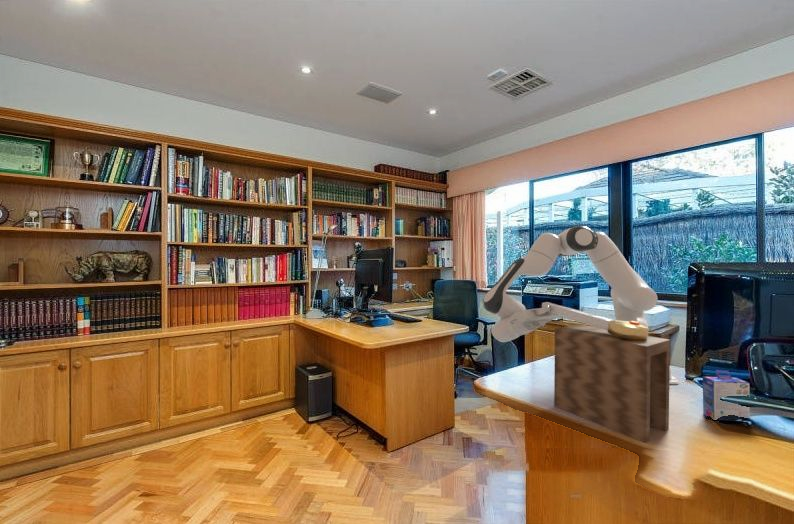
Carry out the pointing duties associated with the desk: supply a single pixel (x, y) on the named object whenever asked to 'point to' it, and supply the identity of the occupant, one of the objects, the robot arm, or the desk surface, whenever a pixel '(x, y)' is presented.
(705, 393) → the ink cartridge box
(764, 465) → the desk surface
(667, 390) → the chevron wooden end table
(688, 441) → the desk surface
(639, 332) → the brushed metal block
